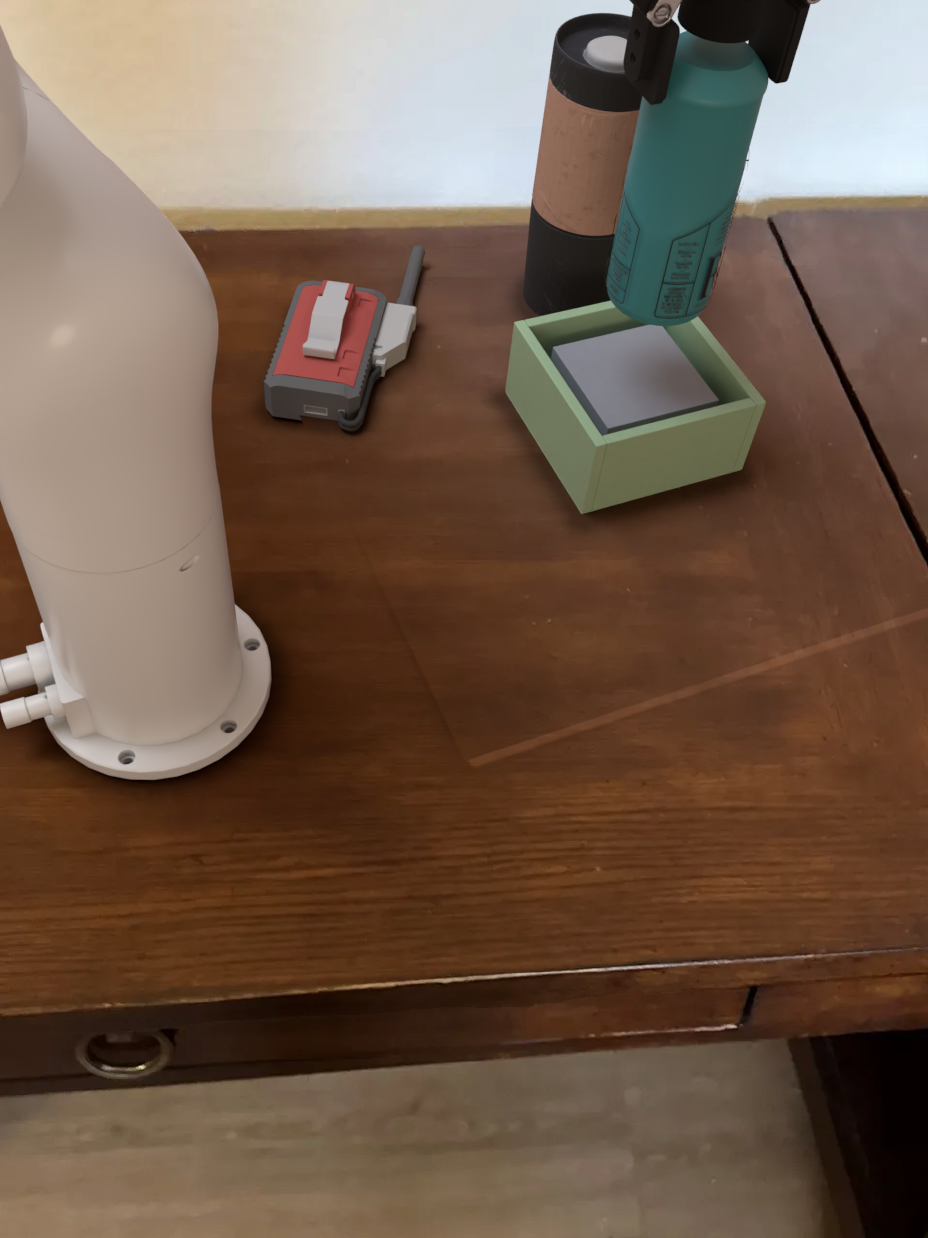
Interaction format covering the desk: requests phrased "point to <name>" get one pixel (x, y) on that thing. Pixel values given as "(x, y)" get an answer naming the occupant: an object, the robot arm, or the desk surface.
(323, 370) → the walkie-talkie
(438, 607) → the desk surface
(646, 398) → the block
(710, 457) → the crate
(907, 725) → the desk surface
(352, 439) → the desk surface
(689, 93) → the beverage bottle
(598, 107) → the travel mug
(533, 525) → the desk surface
